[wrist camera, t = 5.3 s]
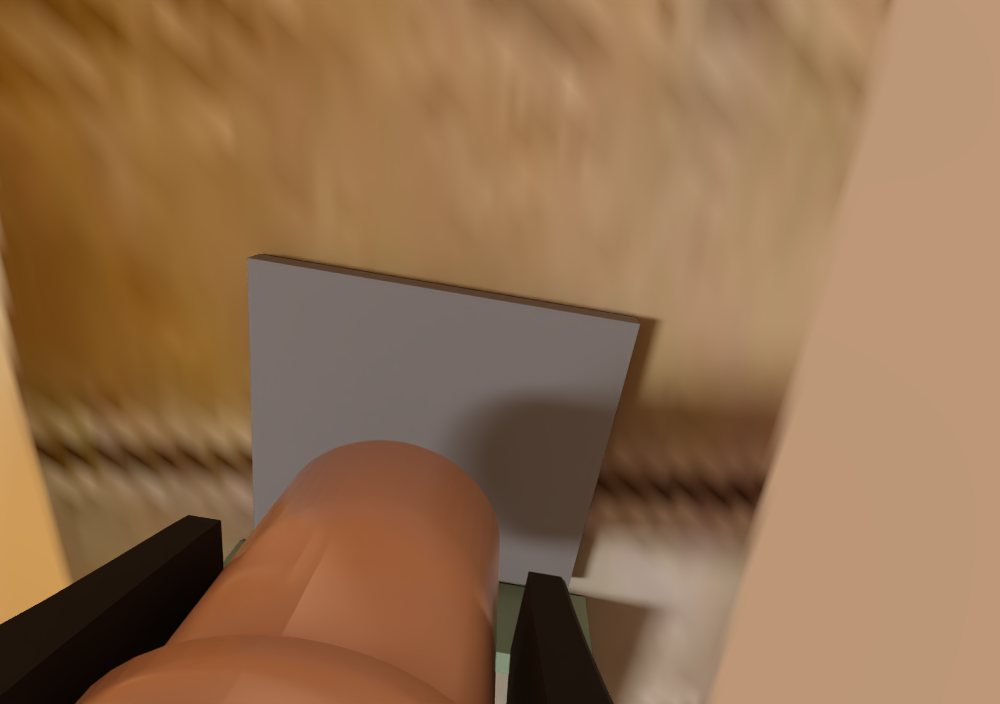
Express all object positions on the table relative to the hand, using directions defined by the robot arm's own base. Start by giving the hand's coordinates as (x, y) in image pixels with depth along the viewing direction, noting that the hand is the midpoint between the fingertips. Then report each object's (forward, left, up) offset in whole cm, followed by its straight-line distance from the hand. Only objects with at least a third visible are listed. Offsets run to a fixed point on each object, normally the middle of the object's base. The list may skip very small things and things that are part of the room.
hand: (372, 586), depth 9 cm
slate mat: (0, 0, -6) cm, 6 cm away
